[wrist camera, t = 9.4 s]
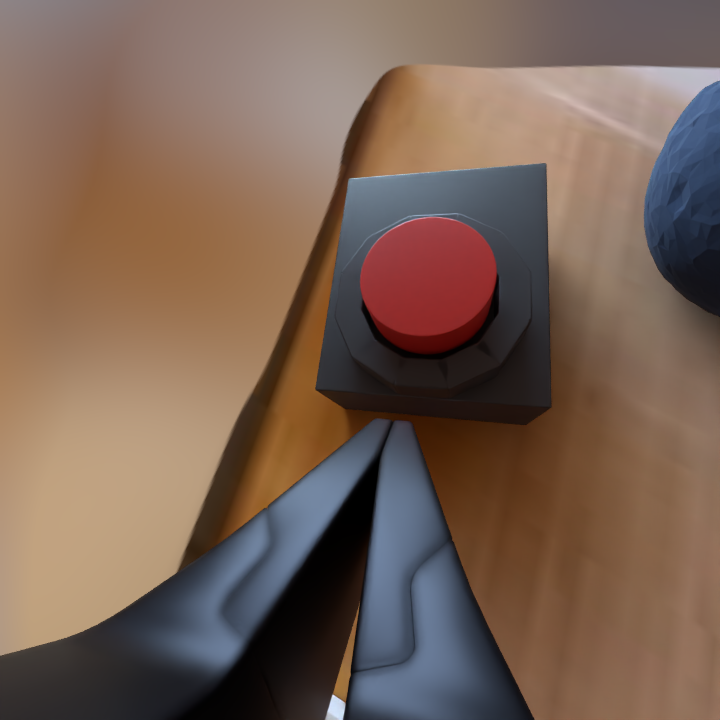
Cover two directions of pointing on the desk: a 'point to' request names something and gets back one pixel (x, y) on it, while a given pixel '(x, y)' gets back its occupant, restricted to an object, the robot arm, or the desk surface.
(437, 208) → the grey button base
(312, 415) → the desk surface
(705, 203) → the decorative stone
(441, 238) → the red button
